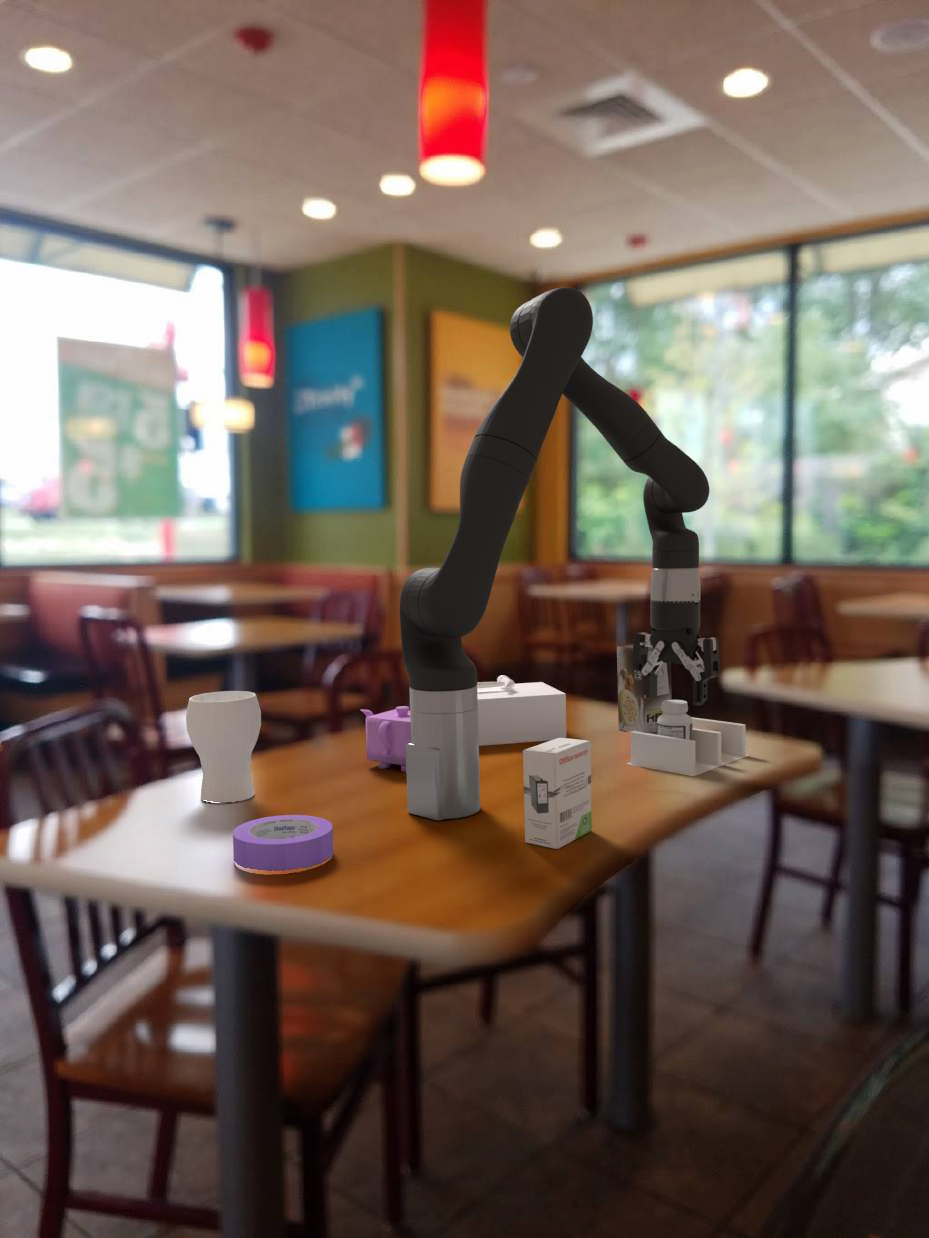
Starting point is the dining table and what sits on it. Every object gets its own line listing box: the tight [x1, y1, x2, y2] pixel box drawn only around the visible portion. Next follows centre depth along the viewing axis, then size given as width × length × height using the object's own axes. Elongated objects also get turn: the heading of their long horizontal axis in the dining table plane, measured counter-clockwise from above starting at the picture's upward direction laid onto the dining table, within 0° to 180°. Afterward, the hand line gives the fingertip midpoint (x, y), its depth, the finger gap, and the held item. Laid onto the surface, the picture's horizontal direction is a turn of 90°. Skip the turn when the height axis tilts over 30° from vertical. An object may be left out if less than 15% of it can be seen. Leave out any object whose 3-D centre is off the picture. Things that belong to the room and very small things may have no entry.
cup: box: [185, 690, 262, 803], centre depth 141 cm, size 11×11×15 cm
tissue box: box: [477, 674, 567, 747], centre depth 179 cm, size 14×25×11 cm, turn 103°
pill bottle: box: [656, 699, 693, 740], centre depth 150 cm, size 5×5×10 cm
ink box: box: [522, 737, 593, 850], centre depth 119 cm, size 9×5×12 cm, turn 142°
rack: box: [626, 716, 750, 777], centre depth 153 cm, size 17×12×6 cm
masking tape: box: [232, 814, 334, 871], centre depth 114 cm, size 12×12×4 cm
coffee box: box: [616, 644, 672, 734], centre depth 179 cm, size 9×6×16 cm
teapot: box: [360, 705, 411, 773], centre depth 158 cm, size 18×13×10 cm
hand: (674, 701), depth 149 cm, fingers open, 8 cm apart
